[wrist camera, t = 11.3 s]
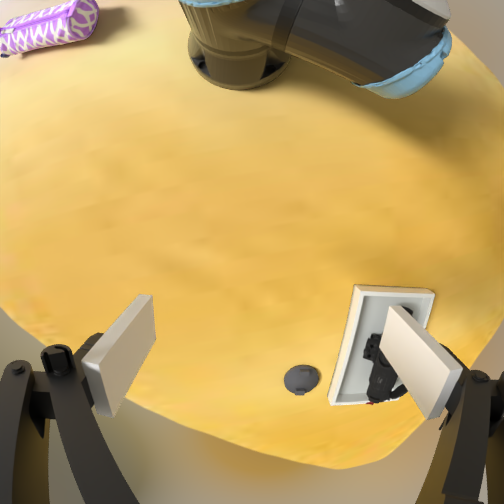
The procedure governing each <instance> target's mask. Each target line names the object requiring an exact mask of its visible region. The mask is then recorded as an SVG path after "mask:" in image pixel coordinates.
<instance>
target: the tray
mask: <svg viewBox="0 0 504 504" xmlns="http://www.w3.org/2000/svg"><path fill="white" fill-rule="evenodd" d="M434 297H435V293H433V292H432V291H430V290H429V289H427V288H413V287H393V286H374V285H357V284H354V288H353V293H352V298H351V303H350V308H349V313H348V317H347V322H346V326H345V330H344V335H343V339H342V343H341V347H340V351H339V355H338V359H337V362H336V366H335V370H334V373H333V377H332V381H331V384H330V387H329V391H328V394H327V397H328V400H329V403H330V406H331V405H351V404H364V403H367V402H370V401H369V400H368V399H369V398H368V397H367V395H366V392H367V389H368V386H369V377H370V374H371V371H372V367H373V364H374V363H372V361H370V360H367V359H364V358H363V354H364V353H363V350H364V349H365V346H366V342H367V339H368V338H370V337H371V334H374V335H377V336H381V335H382V333H383V330H384V326H385V322H386V319H387V314H388V310H389V306H404V307H407V308H410V309H411V310H412V311H413V314H412V316H413V318H414V319H415V320H416V321H417V322H418V323H419V324H420V325H421V326H422V327H423V328H424V329H425V328H426V325H427V322H428V318H429V315H430V312H431V308H432V304H433V301H434ZM401 384H403V382H402V381H401V379H400V378H399V376H398V378H397V380H396V383H395V385H394V387H393V388H392V391H393V390H394V389H396V388H397V387H398V386H400V385H401ZM394 400H399V398H397V399H390V400H389V401H394ZM386 401H388V400H386ZM384 402H385V401H384Z"/></svg>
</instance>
